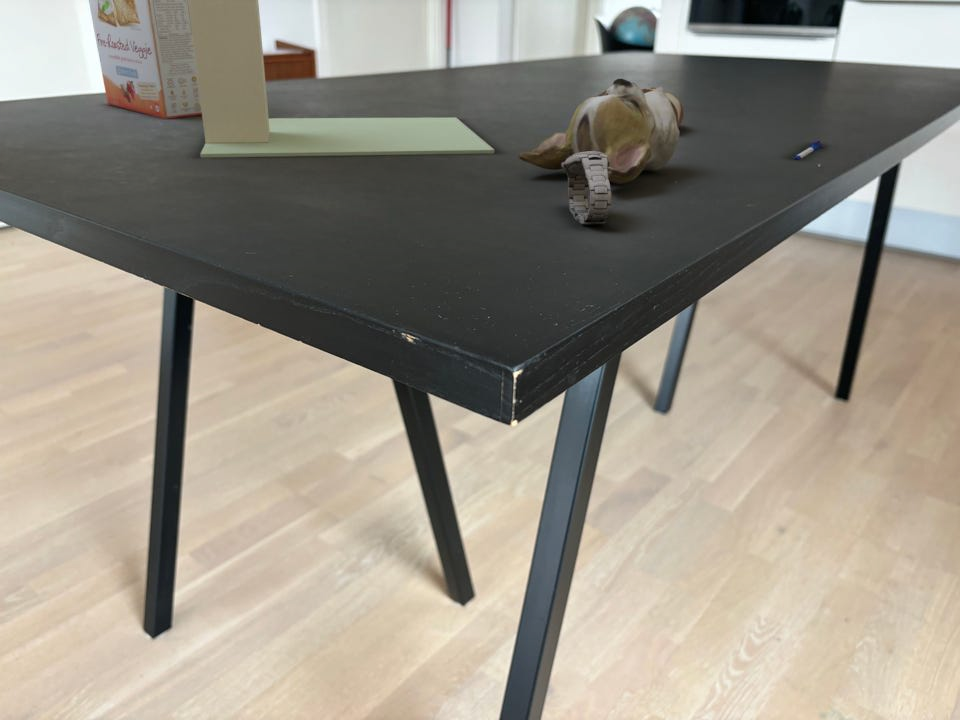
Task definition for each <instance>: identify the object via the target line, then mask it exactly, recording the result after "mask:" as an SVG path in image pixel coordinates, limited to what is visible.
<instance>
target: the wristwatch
mask: <svg viewBox="0 0 960 720" xmlns="http://www.w3.org/2000/svg"><path fill="white" fill-rule="evenodd" d="M609 165H610V160H609V158H608V156H607V155H606V154H604V153H601V152H596V151H587V152H580V153H577V154H574V155H572V156H570V157H569V158H567V159H566V161H565V162H563V163H562V168H563V169H562V170H564V171H565V174H566V176H567V185H568V186H567V193H568V195H567V196H568V210H569V212H570V213H571V214H572V216H573V219H574V220H575V221H576V222H578V223H579V224H580V225H583V226H587V225H588V226H593V225H598V226H599V225H604V224H605V223H606V220H607V219H608V216H609V214H610V211H611V206H612V188H611V184H610V181H609V180H608V170H607V168H608V167H609ZM588 198H589V199H588Z"/></svg>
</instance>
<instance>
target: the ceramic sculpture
mask: <svg viewBox="0 0 960 720" xmlns="http://www.w3.org/2000/svg"><path fill="white" fill-rule="evenodd" d="M656 88H657V89H655V90H653V91H651V92H647V93H643V91H642V90H641V89H642V88H641V87H640V86H639V85H638V84H636V83H635V82H631V81H630V80H627V79H625V78H616V79H615V80H613V82H612V84H611V85H610V86H609V87H608V88H607V92H606V94H605V95H601V96H598V95H594V96H591V97H589V98H586V99H585V100H584V101H582V102H581V103H580V104H579V105H578V106H577V108H576V109H575V111H574V113H573V115H572V117H571V119H570V123H569V126H568V128H567V129H566V131H562V132H559V131H558V132H555V133H553V135H551V136H550V137H548V138H545V139H543V140H542V141H541V142H540V143H539V144H538V147H535V148H534V149H532V151H529V152H528V151H524V152H521V153H519V154H518V155H517V156H518V158H519V160H521V161H523V162H525V163H528V164H531V165H532V166H533V165H534V166H536V167H539V168H540V169H545V170H551V171H559V170H564V169H563V168H562V163H563V162H565V161H566V159H567V158H569V157H570V156H572V155H574V154H577V153H580V152H587V151H596V152H601V153H604V154H606V155H607V156H608V158H609V160H610V165H609V167H608V168H607V170H608V180H609V182H611V183H614V184H627V183H630V182H632V181H634V180H635V179H637V177H638V176H640V174H641V173H642V171H643V172H644V171H658V170H660V169H662V168H663V167H664V166H666V165H668V163H669V162H670V161H671V158H673V155H674V153H675V152H676V149H677V145H678V143H679V139H680V134H681V132H680V130H679V127H677V121H676V116H675V113H674V110H673V108H672V105H671V102H670V101H669V99H668V98H667V96H666V92H667V91H666V90H665V88H664V87H663V86H659V87H656Z"/></svg>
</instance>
